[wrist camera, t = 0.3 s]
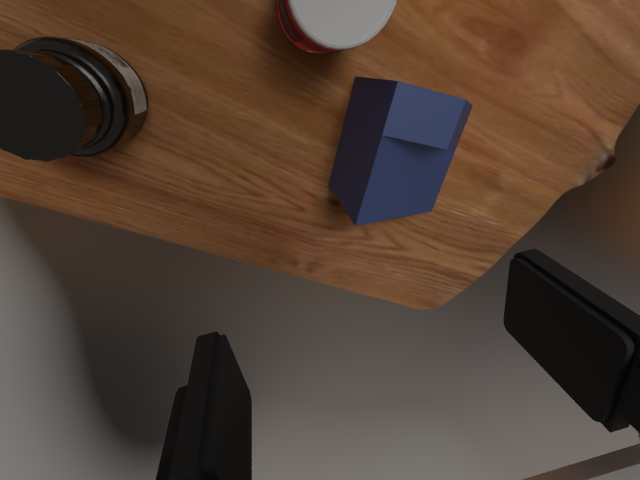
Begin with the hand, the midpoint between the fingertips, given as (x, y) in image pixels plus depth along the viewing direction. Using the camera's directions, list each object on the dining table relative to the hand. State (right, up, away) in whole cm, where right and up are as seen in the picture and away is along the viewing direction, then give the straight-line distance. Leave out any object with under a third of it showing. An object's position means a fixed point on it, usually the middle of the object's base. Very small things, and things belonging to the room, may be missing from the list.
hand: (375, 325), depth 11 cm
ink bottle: (-23, +17, +22) cm, 36 cm away
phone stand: (+6, +14, +29) cm, 33 cm away
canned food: (-2, +25, +22) cm, 33 cm away
